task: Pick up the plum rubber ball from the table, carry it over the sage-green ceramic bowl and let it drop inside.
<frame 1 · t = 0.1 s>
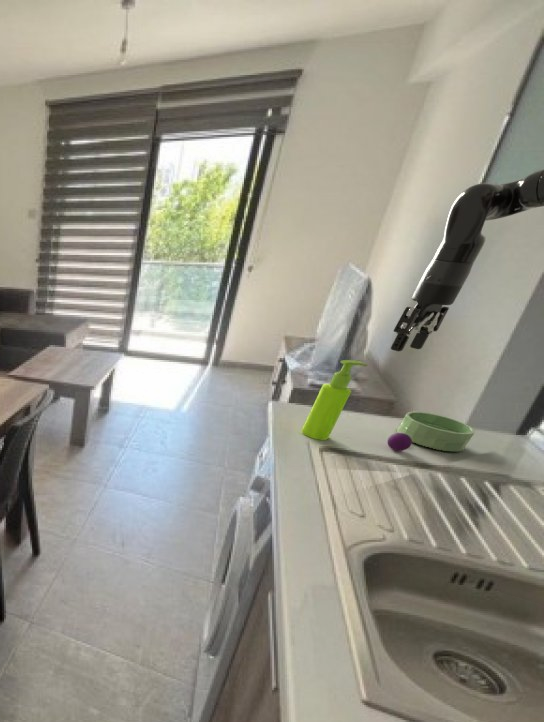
hand: (405, 349, 119), 22 cm above the table, tool pointing down, fingers open, 8 cm apart
bowl: (427, 441, 125), on the table
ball: (399, 441, 119), point 2 cm above the table
soap dispenser: (316, 435, 125), on the table
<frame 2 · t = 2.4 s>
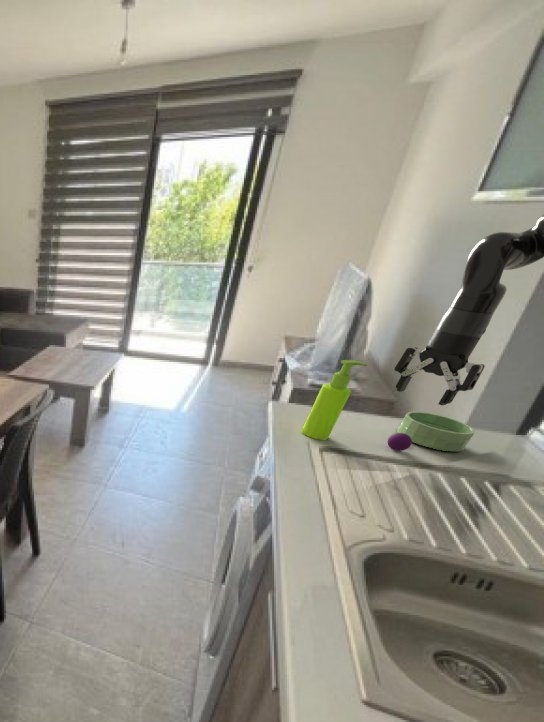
hand: (420, 397, 114), 14 cm above the table, tool pointing down, fingers open, 8 cm apart
nothing on the table moved.
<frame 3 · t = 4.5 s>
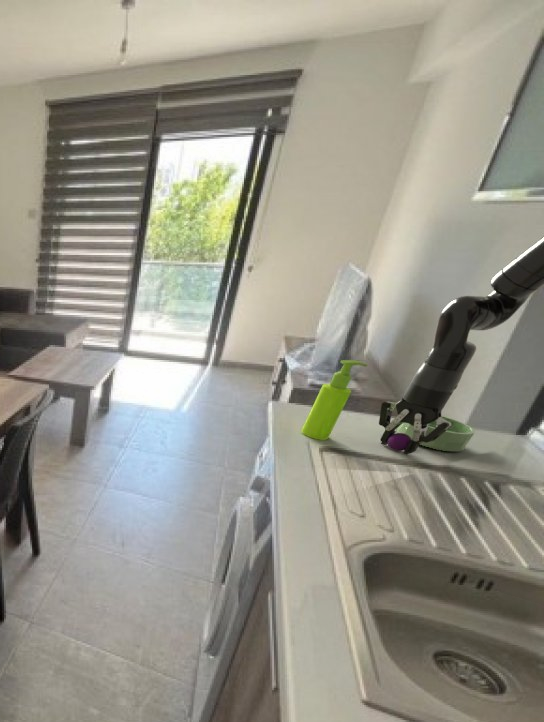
hand: (395, 448, 120), 0 cm above the table, tool pointing down, fingers closed on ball, 4 cm apart
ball: (399, 441, 119), point 2 cm above the table, touching gripper
everything else where it was.
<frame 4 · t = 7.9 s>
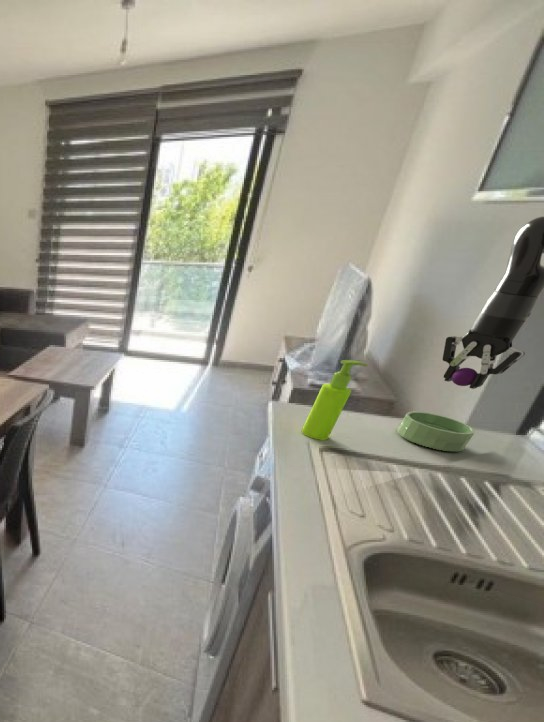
hand: (460, 384, 117), 16 cm above the table, tool pointing down, fingers closed on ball, 4 cm apart
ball: (464, 376, 116), point 18 cm above the table, touching gripper
everything else where it was.
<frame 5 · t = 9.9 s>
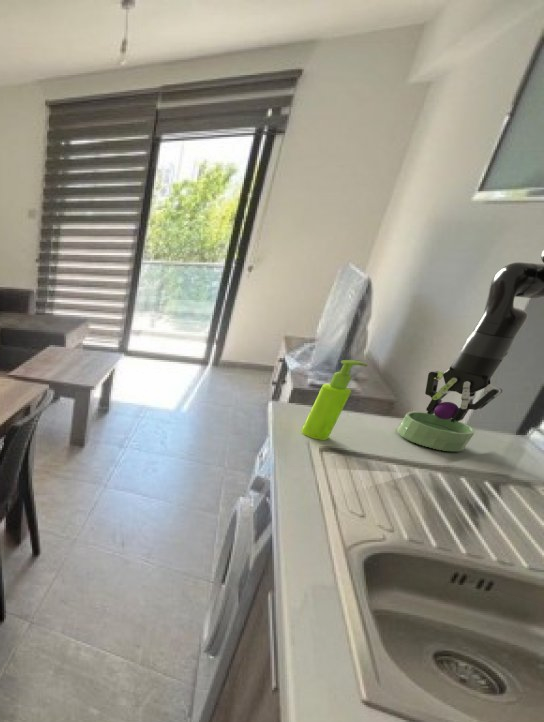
hand: (442, 417, 122), 7 cm above the table, tool pointing down, fingers closed on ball, 4 cm apart
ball: (446, 410, 121), point 9 cm above the table, touching gripper
everything else where it was.
when the fingers open (3 cm above the table, at t = 11.4 s): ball drops 2 cm, resting on bowl.
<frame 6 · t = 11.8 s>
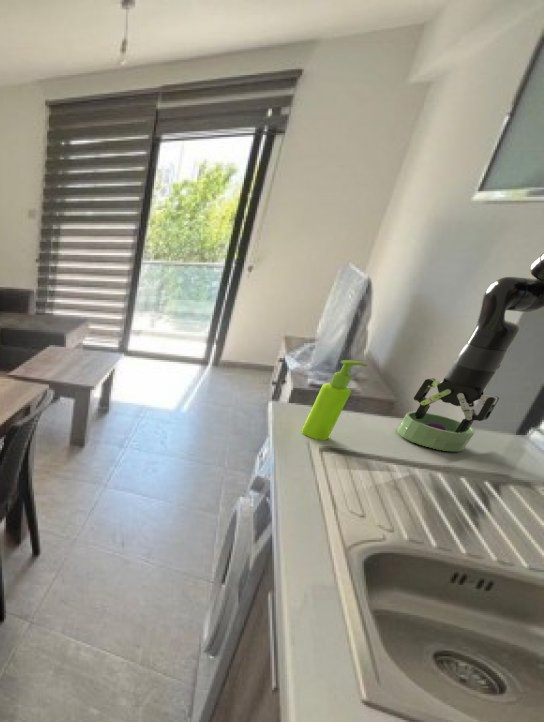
hand: (438, 425, 123), 5 cm above the table, tool pointing down, fingers open, 8 cm apart
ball: (433, 431, 124), point 3 cm above the table, touching bowl
everything else where it was.
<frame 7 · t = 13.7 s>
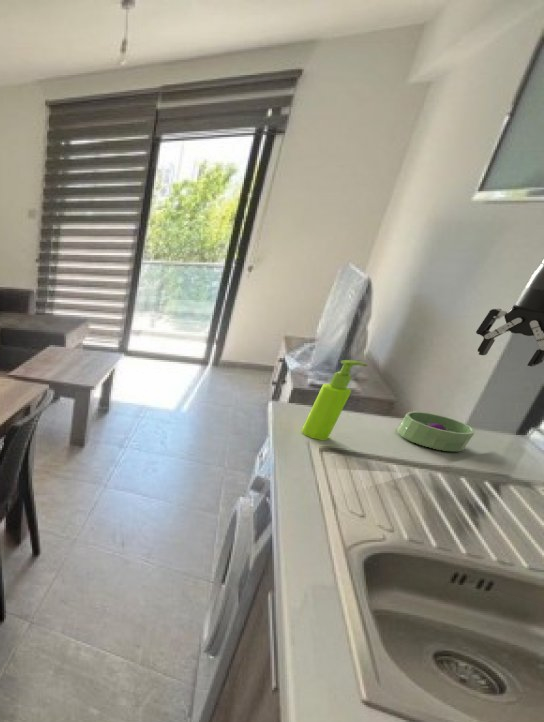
hand: (506, 360, 111), 23 cm above the table, tool pointing down, fingers open, 8 cm apart
nothing on the table moved.
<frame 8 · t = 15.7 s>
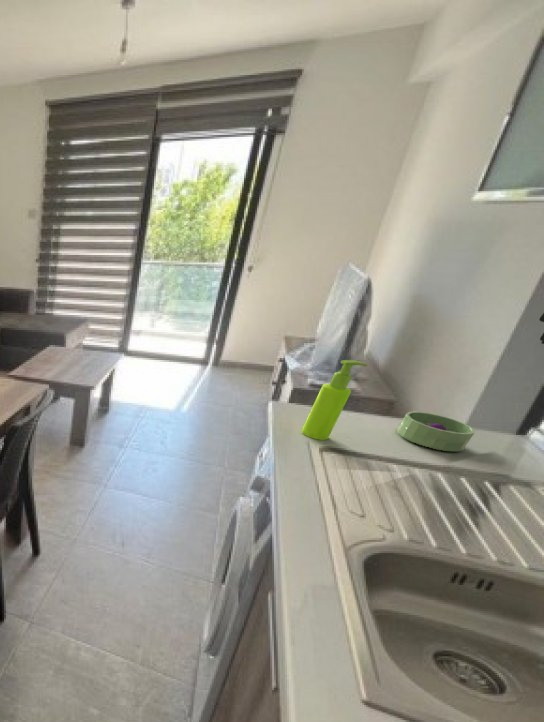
nothing on the table moved.
at the end: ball inside the target area in the bowl (0.1 cm from its centre), point 2.8 cm above the bowl's base; the gripper is holding nothing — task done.
